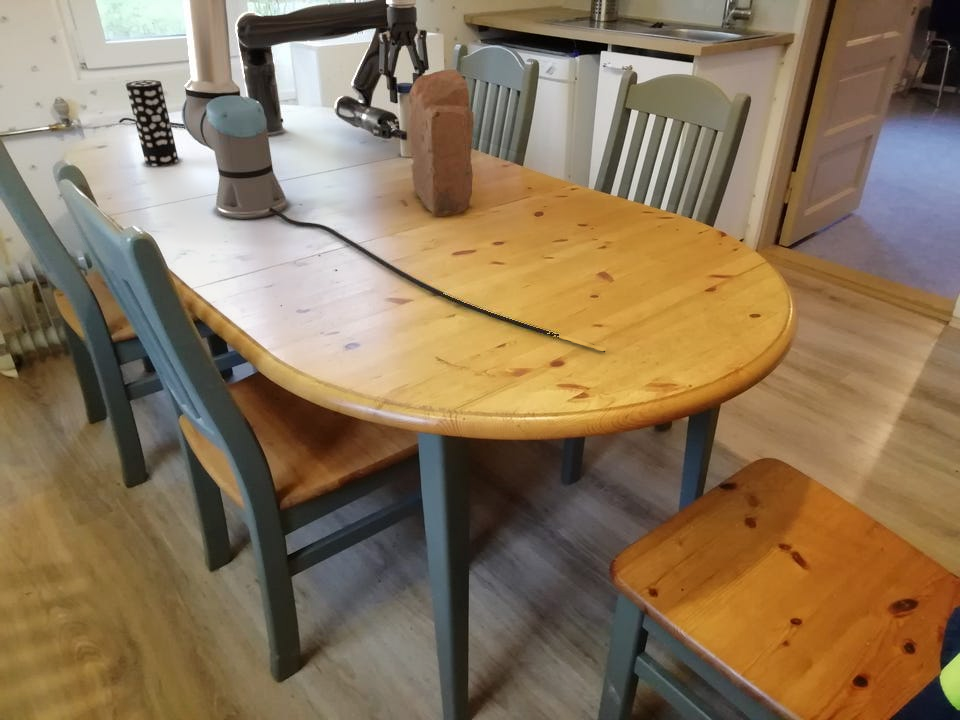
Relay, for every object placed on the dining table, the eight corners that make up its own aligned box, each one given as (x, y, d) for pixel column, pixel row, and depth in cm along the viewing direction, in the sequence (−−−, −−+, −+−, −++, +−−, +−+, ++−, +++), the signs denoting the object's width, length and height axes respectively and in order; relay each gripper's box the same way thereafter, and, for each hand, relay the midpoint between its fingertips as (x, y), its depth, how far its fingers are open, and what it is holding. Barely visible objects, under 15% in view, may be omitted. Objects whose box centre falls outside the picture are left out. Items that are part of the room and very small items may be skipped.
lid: (415, 90, 187) (415, 82, 186) (412, 93, 183) (412, 86, 182) (398, 89, 188) (398, 82, 187) (394, 93, 184) (394, 86, 183)
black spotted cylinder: (184, 157, 190) (167, 80, 179) (169, 166, 183) (151, 87, 172) (155, 156, 190) (136, 79, 179) (139, 165, 183) (119, 86, 172)
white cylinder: (400, 153, 196) (397, 86, 186) (414, 152, 197) (412, 85, 187) (401, 157, 193) (398, 89, 183) (416, 156, 193) (413, 89, 183)
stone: (482, 213, 155) (482, 80, 141) (434, 219, 152) (429, 83, 138) (455, 187, 173) (452, 67, 159) (411, 191, 170) (404, 69, 156)
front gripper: (375, 9, 167) (381, 108, 179) (441, 4, 177) (443, 98, 189) (359, 6, 171) (367, 102, 184) (425, 2, 182) (427, 93, 194)
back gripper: (357, 112, 195) (390, 124, 184) (399, 105, 202) (433, 117, 191) (359, 139, 199) (391, 153, 188) (401, 131, 206) (434, 144, 195)
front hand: (405, 100), depth 187 cm, fingers open, 7 cm apart
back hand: (412, 134), depth 189 cm, fingers closed on white cylinder, 4 cm apart
